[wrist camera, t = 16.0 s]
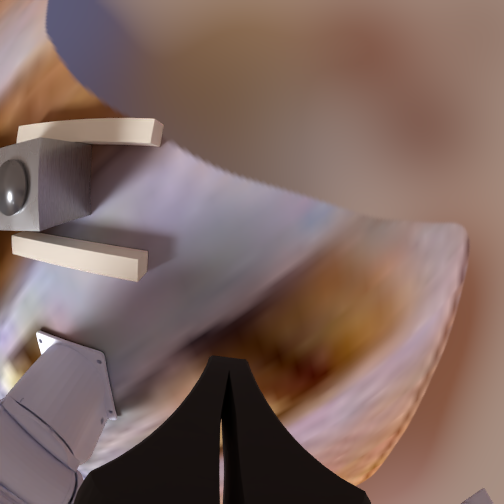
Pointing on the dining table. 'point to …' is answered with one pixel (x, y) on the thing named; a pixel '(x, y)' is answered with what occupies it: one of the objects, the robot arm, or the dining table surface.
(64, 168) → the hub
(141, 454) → the robot arm
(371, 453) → the dining table surface
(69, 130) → the guide rails
